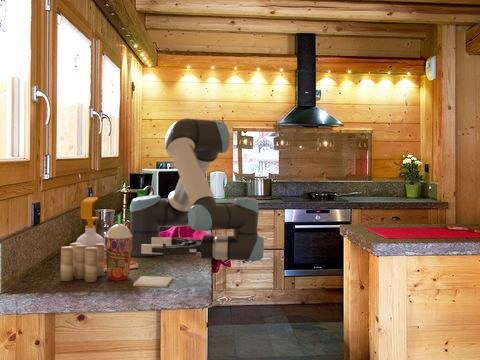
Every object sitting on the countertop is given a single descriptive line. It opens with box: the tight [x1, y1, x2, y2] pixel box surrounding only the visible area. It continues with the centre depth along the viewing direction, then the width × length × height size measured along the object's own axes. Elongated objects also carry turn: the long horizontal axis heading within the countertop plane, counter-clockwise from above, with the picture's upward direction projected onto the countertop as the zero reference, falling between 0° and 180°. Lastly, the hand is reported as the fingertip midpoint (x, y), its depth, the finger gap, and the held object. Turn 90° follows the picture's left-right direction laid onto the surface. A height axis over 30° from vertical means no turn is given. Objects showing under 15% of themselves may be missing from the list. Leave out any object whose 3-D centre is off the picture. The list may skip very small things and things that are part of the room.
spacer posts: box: [60, 242, 106, 283], centre depth 149 cm, size 11×11×10 cm
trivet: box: [133, 275, 174, 288], centre depth 145 cm, size 10×10×1 cm
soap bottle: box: [75, 196, 105, 248], centre depth 160 cm, size 9×9×25 cm
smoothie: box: [104, 214, 132, 282], centre depth 148 cm, size 8×8×20 cm
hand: (146, 245), depth 148 cm, fingers open, 13 cm apart
